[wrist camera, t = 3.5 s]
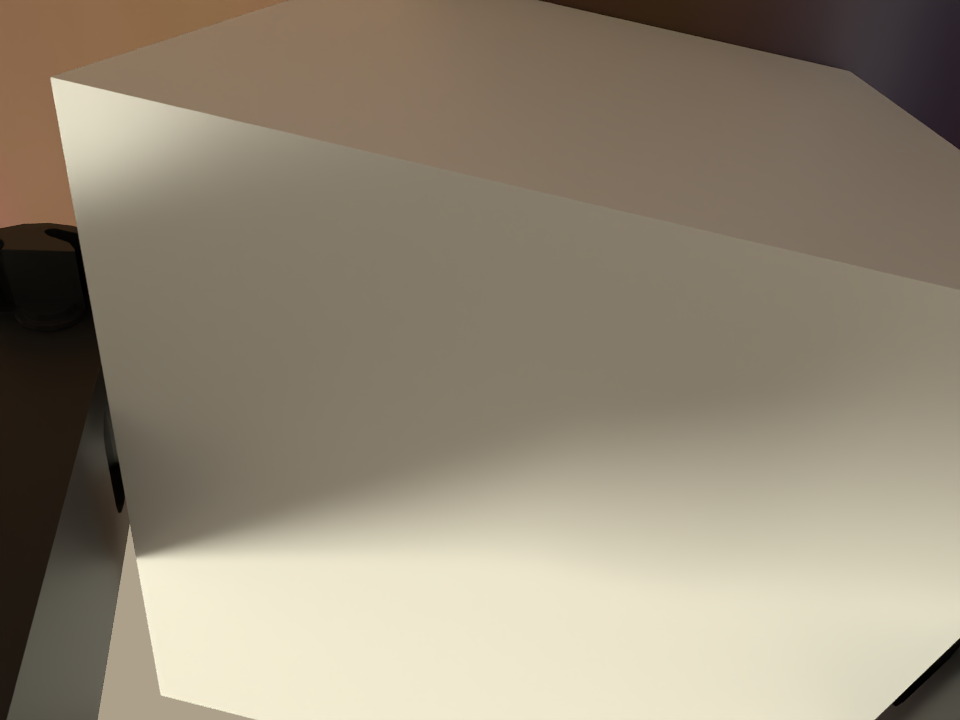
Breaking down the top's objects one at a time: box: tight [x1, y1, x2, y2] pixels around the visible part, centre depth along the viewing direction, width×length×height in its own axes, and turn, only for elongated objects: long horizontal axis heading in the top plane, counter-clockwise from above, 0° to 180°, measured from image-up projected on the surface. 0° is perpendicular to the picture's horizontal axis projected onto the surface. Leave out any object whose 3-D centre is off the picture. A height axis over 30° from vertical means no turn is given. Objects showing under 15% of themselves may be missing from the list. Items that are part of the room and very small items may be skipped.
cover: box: [50, 0, 960, 720], centre depth 11 cm, size 8×8×9 cm
